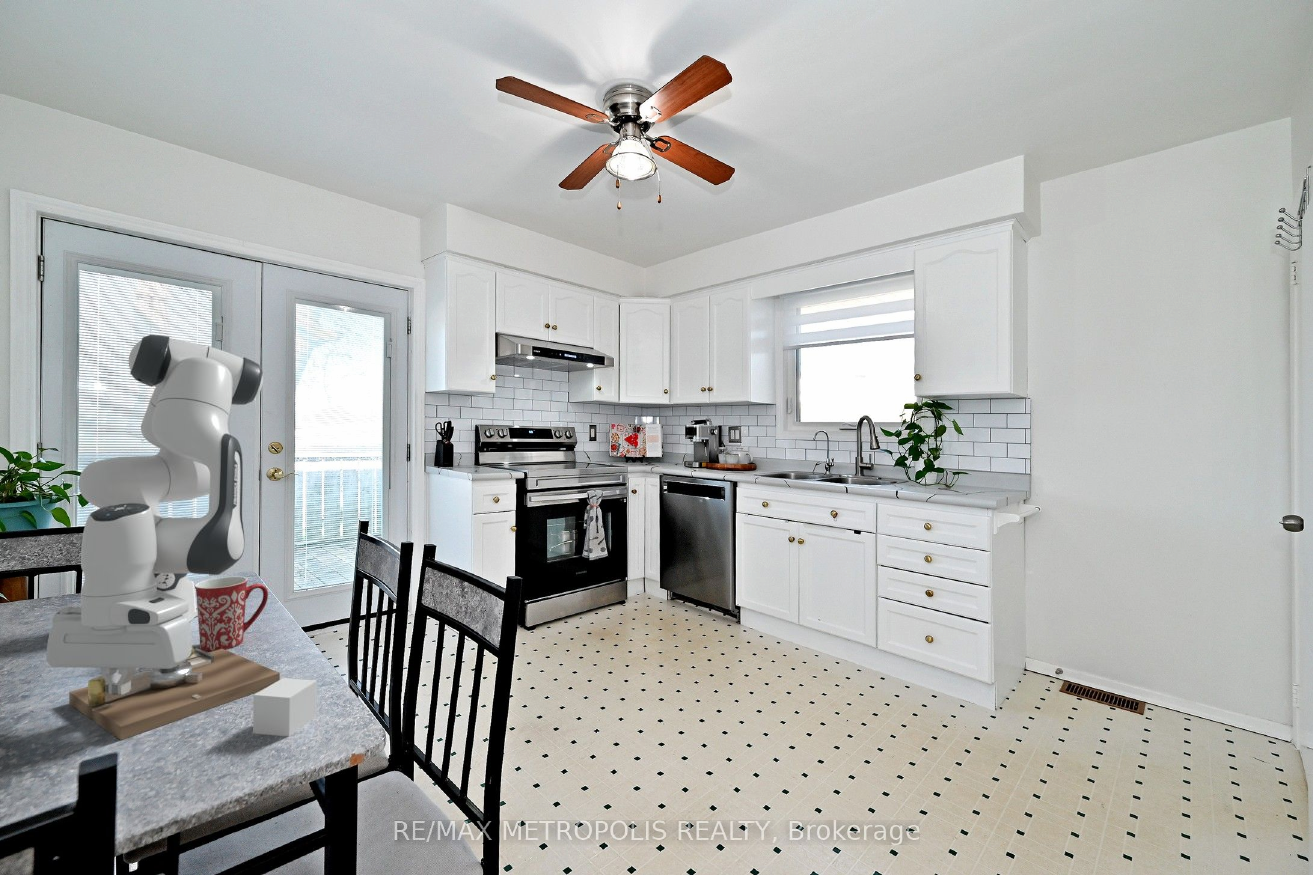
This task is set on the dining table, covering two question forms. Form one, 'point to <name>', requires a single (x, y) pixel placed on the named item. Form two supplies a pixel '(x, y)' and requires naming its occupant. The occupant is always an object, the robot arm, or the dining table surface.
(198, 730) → the dining table surface
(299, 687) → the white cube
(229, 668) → the stand
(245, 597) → the mug
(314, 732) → the dining table surface
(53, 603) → the dining table surface
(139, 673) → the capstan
